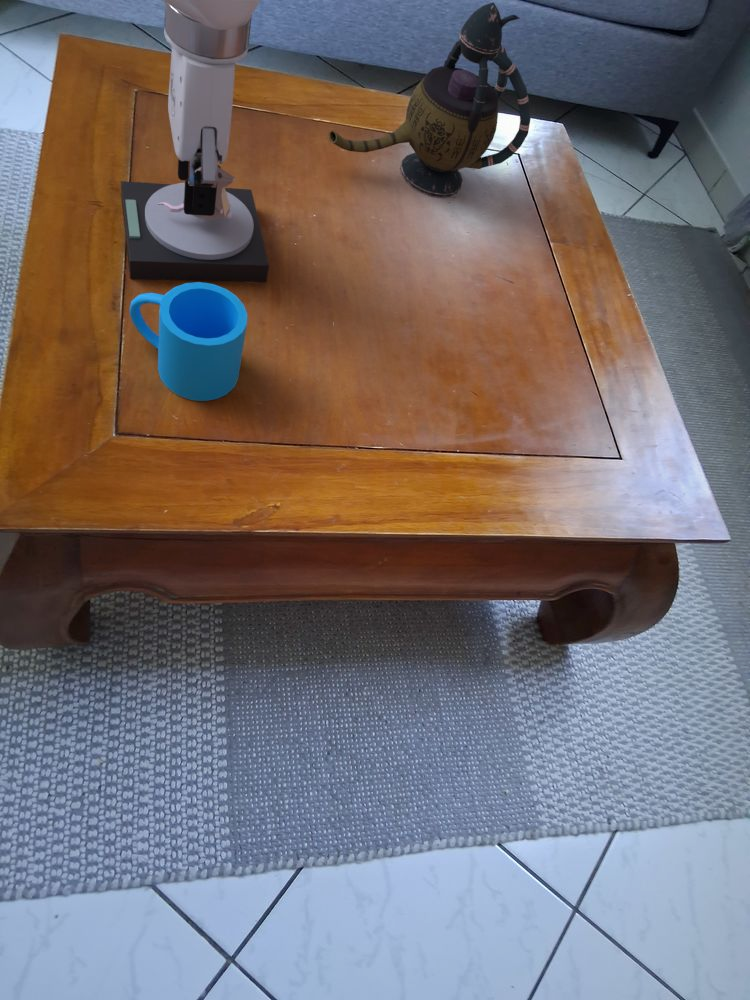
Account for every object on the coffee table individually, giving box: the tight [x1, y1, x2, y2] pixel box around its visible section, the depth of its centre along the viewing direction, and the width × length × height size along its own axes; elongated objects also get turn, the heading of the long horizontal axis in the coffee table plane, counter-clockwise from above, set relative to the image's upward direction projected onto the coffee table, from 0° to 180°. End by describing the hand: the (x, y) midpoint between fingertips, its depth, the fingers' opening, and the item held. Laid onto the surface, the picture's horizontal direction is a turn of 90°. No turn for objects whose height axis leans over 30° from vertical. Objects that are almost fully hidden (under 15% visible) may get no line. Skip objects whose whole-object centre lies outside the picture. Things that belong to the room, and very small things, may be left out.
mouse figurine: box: [158, 164, 235, 221], centre depth 82 cm, size 5×8×7 cm, turn 102°
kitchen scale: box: [120, 180, 270, 283], centre depth 87 cm, size 15×13×3 cm
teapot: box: [328, 1, 531, 199], centre depth 96 cm, size 12×25×23 cm, turn 107°
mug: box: [128, 281, 248, 402], centre depth 75 cm, size 12×8×8 cm
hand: (195, 194), depth 83 cm, fingers closed on mouse figurine, 4 cm apart
